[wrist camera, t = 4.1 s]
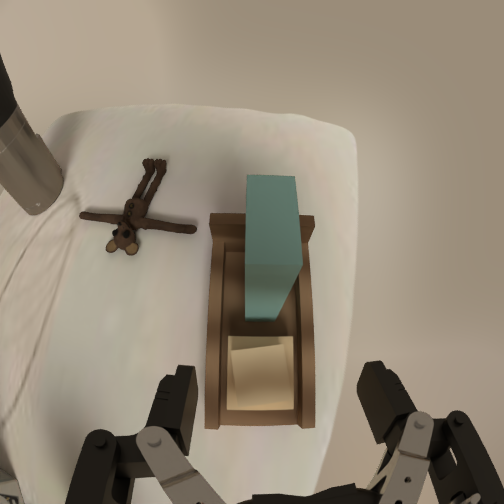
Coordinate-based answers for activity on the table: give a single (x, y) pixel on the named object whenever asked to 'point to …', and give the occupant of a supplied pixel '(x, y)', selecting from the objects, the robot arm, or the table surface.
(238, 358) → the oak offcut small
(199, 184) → the table surface
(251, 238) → the teal board
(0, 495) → the hard drive box
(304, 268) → the walnut rack
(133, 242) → the long-limbed plush toy
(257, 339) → the oak offcut large
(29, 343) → the table surface
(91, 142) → the table surface
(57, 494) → the table surface
